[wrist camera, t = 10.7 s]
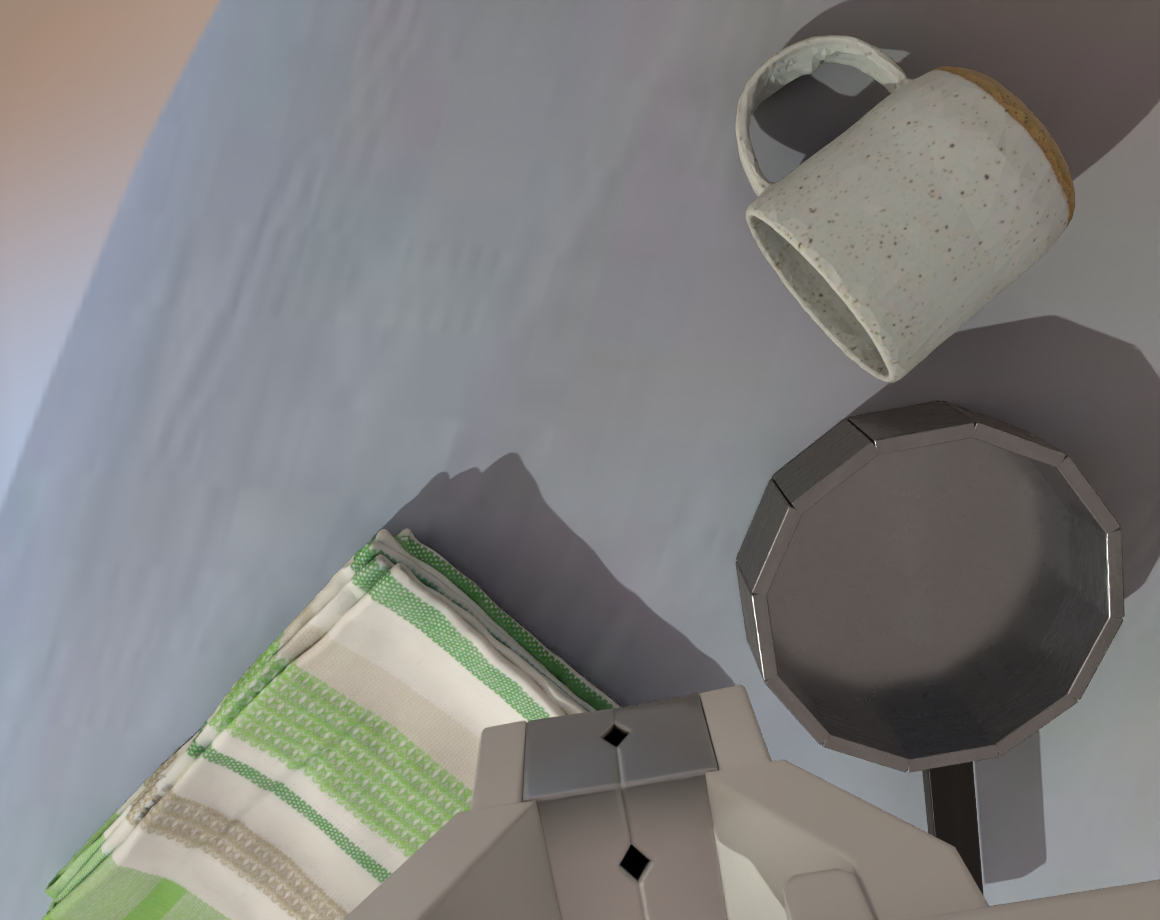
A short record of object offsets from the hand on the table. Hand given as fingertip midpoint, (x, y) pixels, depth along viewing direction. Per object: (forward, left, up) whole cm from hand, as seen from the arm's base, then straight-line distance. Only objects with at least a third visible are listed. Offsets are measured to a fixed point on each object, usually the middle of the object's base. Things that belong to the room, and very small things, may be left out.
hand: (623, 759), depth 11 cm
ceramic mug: (-11, -4, -28) cm, 30 cm away
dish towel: (+12, +19, -28) cm, 36 cm away
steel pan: (-12, +17, -28) cm, 35 cm away
